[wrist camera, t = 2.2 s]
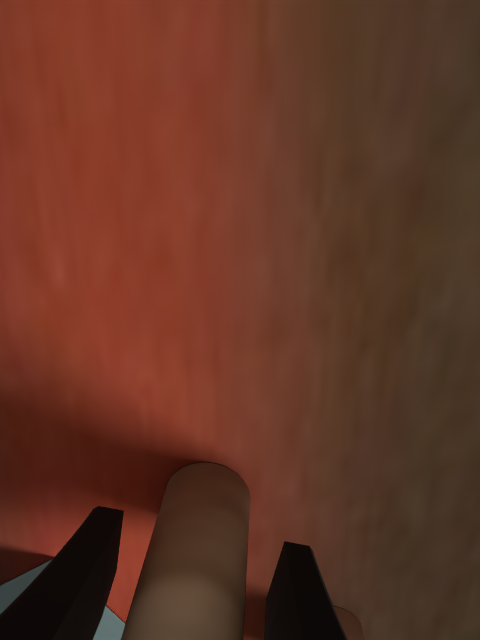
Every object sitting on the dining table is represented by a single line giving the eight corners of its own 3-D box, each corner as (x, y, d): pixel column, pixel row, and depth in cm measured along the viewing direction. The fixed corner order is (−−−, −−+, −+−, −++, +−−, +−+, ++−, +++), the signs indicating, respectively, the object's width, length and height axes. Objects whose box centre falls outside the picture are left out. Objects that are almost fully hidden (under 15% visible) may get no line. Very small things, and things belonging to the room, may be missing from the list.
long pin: (148, 485, 12) (16, 859, 6) (217, 448, 12) (156, 821, 5) (198, 540, 13) (129, 930, 7) (266, 508, 12) (265, 903, 6)
